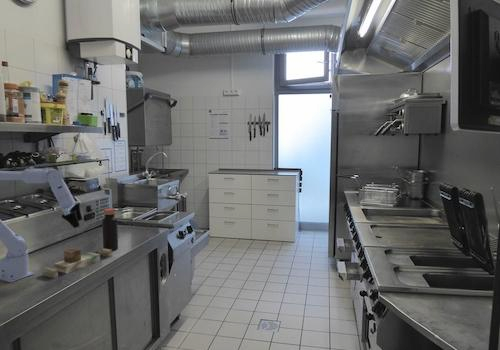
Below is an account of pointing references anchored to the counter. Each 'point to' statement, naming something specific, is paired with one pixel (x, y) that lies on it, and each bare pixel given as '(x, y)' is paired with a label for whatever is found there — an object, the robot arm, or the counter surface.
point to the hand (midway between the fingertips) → (78, 223)
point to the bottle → (110, 230)
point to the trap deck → (76, 263)
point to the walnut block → (72, 255)
